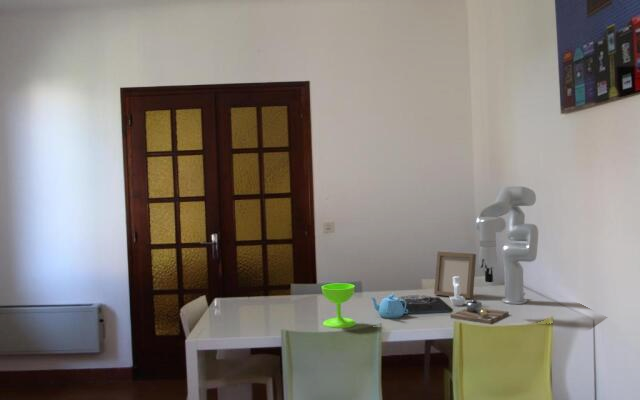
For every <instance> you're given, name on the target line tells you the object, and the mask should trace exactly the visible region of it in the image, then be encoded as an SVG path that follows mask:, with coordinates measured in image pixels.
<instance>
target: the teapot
mask: <svg viewBox="0 0 640 400" xmlns="http://www.w3.org/2000/svg"><path fill="white" fill-rule="evenodd" d="M394 295H395V294H394V292H393V291H392V292H391V293H390V294H389V295H387V297H384V298H383V299H381V302H380V303H379V304H377V299H376V298H375V297H373V296H369V298H371V300H372V301H373V306H374V310H376V312H377V313H378V315H379V316H380V317H381V318H384V319H385V318H386V319H397V318H398V319H399V318H402V316H403V315H404V314H408V313H409V310H408V308H407V301H406V300H405V299H402V298H401V299H399V298H398V297H394ZM402 302H403V303H404V305H403V303H402Z"/></svg>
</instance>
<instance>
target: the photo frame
mask: <svg viewBox="0 0 640 400" xmlns="http://www.w3.org/2000/svg"><path fill="white" fill-rule="evenodd" d="M476 259H477V254H476V253H468V252H467V253H466V252H465V253H464V252H450V251H449V252H448V251H437V255H436V265H435V266H436V267H435V268H436V269H435V277H434V278H435V279H434V281H435V282H434V291H433V292H434V293H433V295H435V296H436V295H438V296H446V297H453V296H454V286H453V277H454V276H456V277H458V276H459V280H460V282H459V283H460V284H459V285H460V287H461V294H460V296H463V297H464V298H465V299H471V300H474V287H475V276H476V264H477V263H476Z"/></svg>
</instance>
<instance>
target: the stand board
mask: <svg viewBox="0 0 640 400" xmlns="http://www.w3.org/2000/svg"><path fill="white" fill-rule="evenodd" d="M482 309H484V310H486V311H487V315H486V316H481V315H480V314H479V313H478V312H468V311H467V307H466V308H464V309H462V310H458V311H457V312H454V313H451V314H450V318H451V319H455V320H462V321H467V322H468V321H469V322H476V323H483V324H489V325H490V324H492V323H494V322H496V321H499V320H501V319H503V318H504V317H507V316H509V315H510V314H509V311H507V310H501V309H500V310H499V309H492V308H485V307H482Z"/></svg>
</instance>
